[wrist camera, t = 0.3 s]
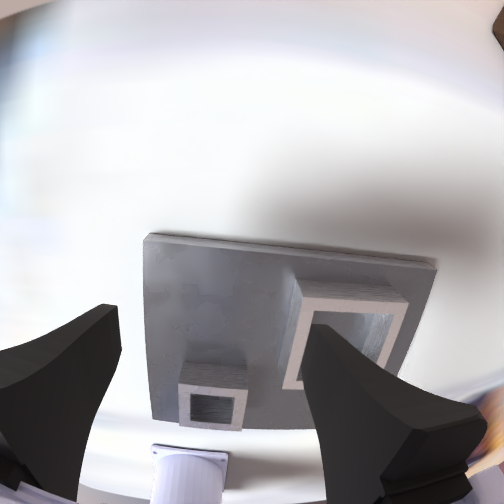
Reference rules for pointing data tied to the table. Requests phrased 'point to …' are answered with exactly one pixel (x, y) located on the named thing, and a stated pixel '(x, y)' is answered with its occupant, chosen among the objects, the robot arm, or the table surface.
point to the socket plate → (263, 325)
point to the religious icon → (499, 28)
